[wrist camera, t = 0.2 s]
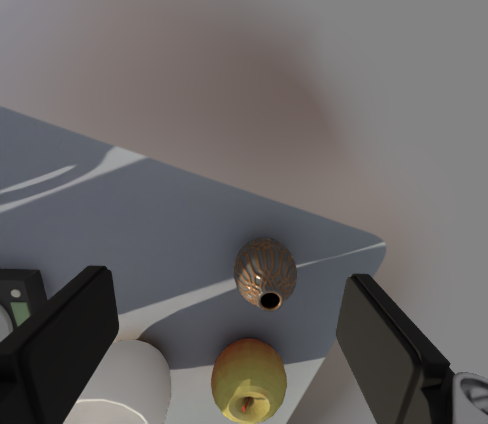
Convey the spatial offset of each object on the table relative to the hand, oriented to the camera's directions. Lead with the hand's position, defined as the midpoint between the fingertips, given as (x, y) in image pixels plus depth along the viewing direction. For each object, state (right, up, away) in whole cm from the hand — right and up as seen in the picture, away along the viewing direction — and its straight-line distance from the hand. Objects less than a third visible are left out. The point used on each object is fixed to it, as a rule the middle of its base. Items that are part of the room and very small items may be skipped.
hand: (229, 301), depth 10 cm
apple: (+1, -17, +26) cm, 31 cm away
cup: (-15, -17, +26) cm, 35 cm away
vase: (+3, -2, +21) cm, 21 cm away
